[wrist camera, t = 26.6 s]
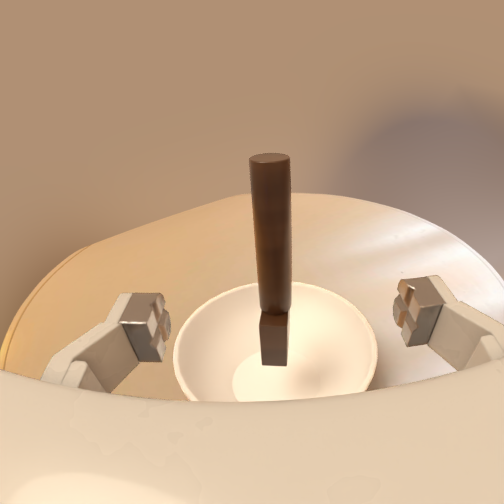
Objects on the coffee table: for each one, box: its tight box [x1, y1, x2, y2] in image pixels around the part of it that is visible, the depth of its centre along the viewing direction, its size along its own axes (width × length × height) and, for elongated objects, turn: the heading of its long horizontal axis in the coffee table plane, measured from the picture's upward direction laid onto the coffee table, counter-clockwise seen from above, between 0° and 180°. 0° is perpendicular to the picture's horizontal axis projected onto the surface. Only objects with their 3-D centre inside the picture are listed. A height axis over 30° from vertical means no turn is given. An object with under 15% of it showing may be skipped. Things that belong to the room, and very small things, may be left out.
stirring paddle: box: [249, 153, 292, 367], centre depth 23 cm, size 5×3×17 cm, turn 172°
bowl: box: [173, 282, 377, 402], centre depth 30 cm, size 20×20×7 cm
